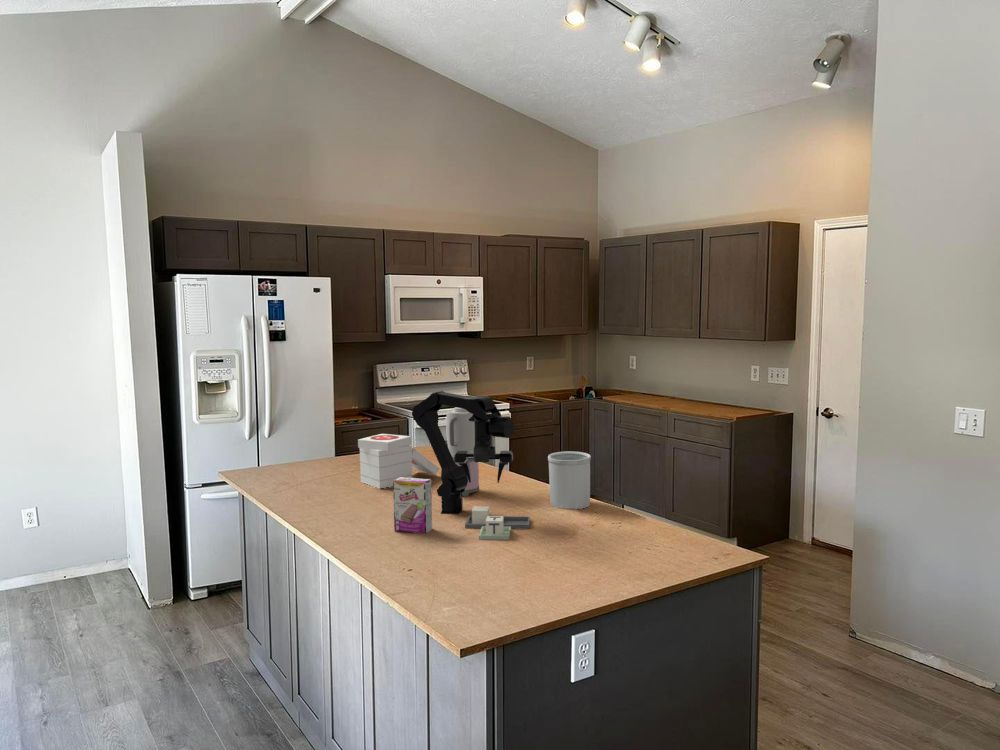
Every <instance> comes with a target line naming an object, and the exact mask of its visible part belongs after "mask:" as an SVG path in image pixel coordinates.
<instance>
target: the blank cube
mask: <svg viewBox="0 0 1000 750" xmlns="http://www.w3.org/2000/svg"><path fill="white" fill-rule="evenodd" d="M471 516H472V524H486V519H487V516H490V506H487V505H486V506H485V505H484V506H475V505H473V507H472V510H471Z"/></svg>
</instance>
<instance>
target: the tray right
mask: <svg viewBox="0 0 1000 750" xmlns="http://www.w3.org/2000/svg"><path fill="white" fill-rule="evenodd" d="M503 516H504V515H503ZM530 523H531V516H520V515H519V516H517V515H516V516H513V515H512V516H504V527H511V530H514V529H518V530H519V529H521V530H522V529H523V530H527V529H530Z"/></svg>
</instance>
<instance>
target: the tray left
mask: <svg viewBox="0 0 1000 750" xmlns="http://www.w3.org/2000/svg"><path fill="white" fill-rule="evenodd" d="M482 526H486V524H472V515H468V517H467V519H466V521H465V523H464V528H465V529H481V528H482Z"/></svg>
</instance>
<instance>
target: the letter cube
mask: <svg viewBox="0 0 1000 750" xmlns="http://www.w3.org/2000/svg"><path fill="white" fill-rule="evenodd" d="M503 534H504V515H502V516H501V515H500V516H499V515H498V516H497V515H494V516H493V515H491V516H490V515H489V516H487V519H486V535H503Z"/></svg>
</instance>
